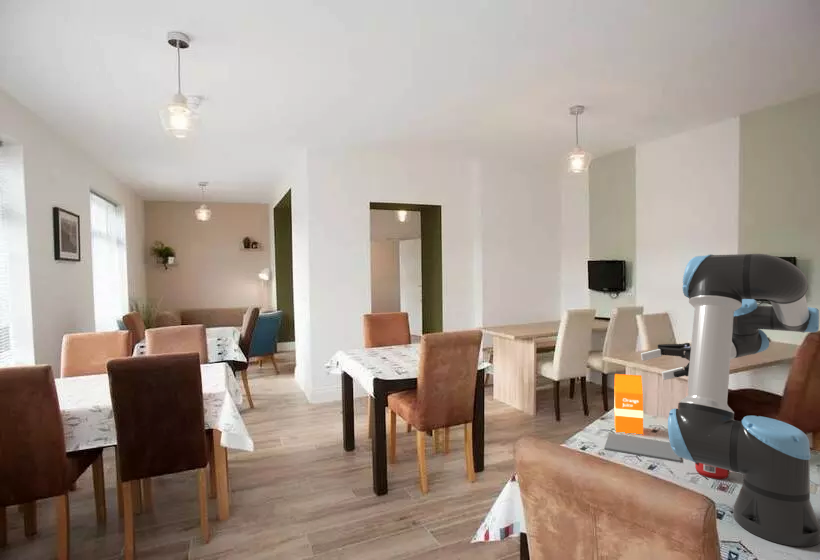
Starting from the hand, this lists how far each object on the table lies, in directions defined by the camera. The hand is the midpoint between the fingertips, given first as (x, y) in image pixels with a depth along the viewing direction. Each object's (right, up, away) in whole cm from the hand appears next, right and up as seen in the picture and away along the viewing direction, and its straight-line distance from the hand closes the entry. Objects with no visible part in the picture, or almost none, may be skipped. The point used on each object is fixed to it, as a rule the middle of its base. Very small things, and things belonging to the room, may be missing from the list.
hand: (651, 366), depth 151 cm
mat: (-7, -25, -6) cm, 27 cm away
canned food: (+4, -26, -25) cm, 36 cm away
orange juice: (-3, -25, +9) cm, 27 cm away
